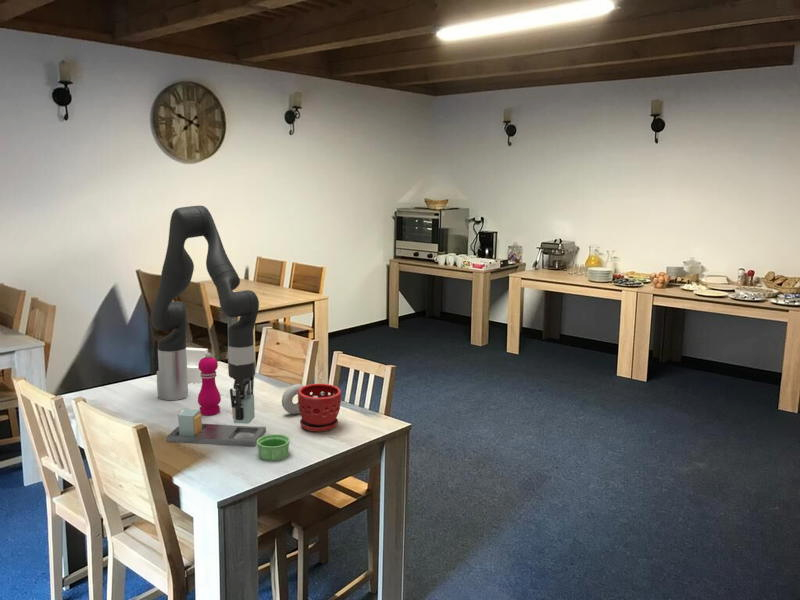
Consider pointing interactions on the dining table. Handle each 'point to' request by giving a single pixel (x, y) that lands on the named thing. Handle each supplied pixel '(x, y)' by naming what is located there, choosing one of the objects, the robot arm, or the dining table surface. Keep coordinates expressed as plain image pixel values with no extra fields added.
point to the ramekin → (273, 446)
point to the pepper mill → (208, 386)
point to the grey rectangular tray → (220, 435)
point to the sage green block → (190, 422)
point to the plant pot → (319, 407)
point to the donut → (288, 397)
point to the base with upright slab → (194, 363)
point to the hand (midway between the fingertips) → (243, 415)
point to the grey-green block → (246, 410)
